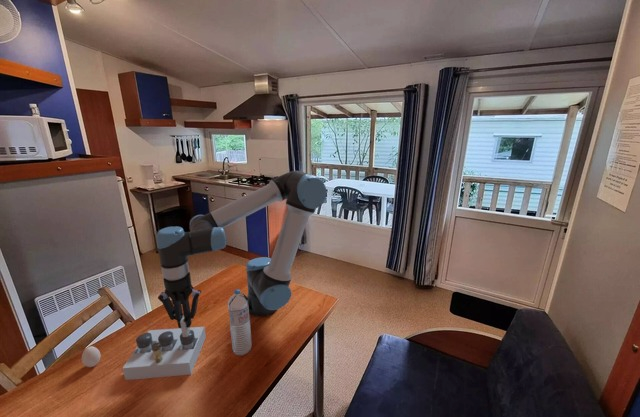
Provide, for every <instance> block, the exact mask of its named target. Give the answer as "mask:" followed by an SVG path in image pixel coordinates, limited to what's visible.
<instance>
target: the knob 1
mask: <svg viewBox="0 0 640 417" xmlns="http://www.w3.org/2000/svg"><path fill="white" fill-rule="evenodd" d="M152 341H153V340H152V335H151V333H147V332H144V333H141V334H140V335H138V336H137V337H136V339H135V343H136V348H137V347H138V348H141V352H142V353H148V352H151V350H152V348H151V343H152Z"/></svg>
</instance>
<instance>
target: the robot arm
mask: <svg viewBox="0 0 640 417" xmlns="http://www.w3.org/2000/svg"><path fill="white" fill-rule="evenodd" d="M326 199H327V188H326V185H325V183H324V181H323V180H322V179H321V178H319V177H317V176H316V175H314V174H310V173H306V172H303V171H301V170H291V171H289V172H288V171H287V172H286V173H284V174H281V175H279V176H277V177H275V178H273V179H271V180H269V183H268V184H266V185H264V186H262V187H260V188H258V189H256V190H254V191H251V192H250V193H248V194H246V195H244V196H242V197H239V198H237V199H235V200H234V201H231V202H230V203H227V204H225V205H223V206H221V207H219V208H217V209H215V210H213V211H211V212H208V213H206V214H197V215H195V216H192V218H191V219H190V220H189V231H186V232H185V231H184V228H183V227H181V226H177V225H176V226H167V227H164V228H161V229H159V230H158V231H157V232H156V234H155V238H156V247H157V252H158V257H159V261H160V267H161V274H162V277H163V283H164V289H165V290H164V291H162V292H161V293H159V295H158V296H157V299H158V300H159V301H160V302H161V303H162V305H163V307H164V309H165V311H166V313H167V315H168V317H169V319H170V320H171V321H174V320H176V322H177V328H181V330H182V336H183V337H188V335H189V333H190V328H191V327H192V319H194V317H195V315H196V314H197V310H198V309H197V308H198V302H199V297H200V295H201V293H202V290H201V289H198V290H196V289H195V288H194V286H193V285H192V278H191V272H190V266H189V256H194V255H199V254H205V253H210V252H216V251H219V250H222V249H225V248H226V246H227V237H226V232H225V229H224V228H227V227H228V226H230V225H232V224H234V223H236V222H238V221H240V220H242V219H244V218H246V217H248V216H251V215H252V214H254V213H256V212H257V211H260V210H262V209H264V208H266V207H268V206H270V205H271V204H274V203H276V202H277V201H278V202H282V201H284V200H286V202H285V205H286V208H287V211H286V214H285V216H284V220H283V223H282V226H281V227H280V228H281V229H280V231H279V234H278V237H277V239H276V244H275V246H274V249H273V253H272V255H271V257H266V256H262V257H261V256H260V257H256V258H253V259H251V260H249V261H248V262H247V263H246V269H245V271H246V280H247V292H248V293H247V295H246V296H247V298H248V302H249V303H248V307H249V316H250V315H251V316H252V317H260V318H261V317H266V316H270V315H271V314H273V313H274V312H276V311H277V310H279V309H281V308H283V307H284V306H286V305H287V304H288V303H289V302H290V300H291V297H292V290H291V287H290V284H291V281H292V279H293V276H292V274H291V269H292V268H293V267H292V266H293V264H294V261H295V258H296V254H297V252H298V249H299V247H300V244H301V240H302V238H303V234H304V231H305V229H306V226H307V223H308V221H309V217H310V216H311V215H313V214H315V212H316V209H318V208H320V207H321V206H322V205H323V204H324V203H325V200H326ZM190 296H191V297H192V301H191V307H190V300H189V299H190Z"/></svg>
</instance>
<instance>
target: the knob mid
mask: <svg viewBox="0 0 640 417" xmlns="http://www.w3.org/2000/svg"><path fill="white" fill-rule="evenodd" d="M158 341H159V342H160V343H161V347H162V348H163V351H172V350H173V345H172V342H173V341H174V337H173V333H172V332H171V331H167V332H164V333H162V334H161V335H160V336H159V337H158Z"/></svg>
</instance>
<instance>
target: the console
mask: <svg viewBox="0 0 640 417" xmlns="http://www.w3.org/2000/svg"><path fill="white" fill-rule="evenodd" d="M190 330H193V331H194V336H195V339H194V341H193V344H194V349H188V350H184V345H182V344H181V341H180V335H181V333H182V330H181V328H179V327H177V328H165V329H151V330H150V329H149V330H148V331H147V332H146V333H151V335H152V340H153V341H152V343H151V346H152V345H153V344H154V343H157V342H159V341H158V337H159V336H160V335H161V334H162V333H164V332H167V331H171V332H172V333H173V337H174V341H173V342H172V345H173V350H172V351H163V348H162V347H161V353H162V358H163V360H162V361H161V362H159V363H156V361H155V356H154V352H153V351H152V350H151V352H148V353H142V352H141V348H138V347H137V346H136V348H135V349H134V351H133V352H132V354H131V355H130V357H128V360H127V361H126V363H125V364H124V365H123V367H122V372H123V375H124V379H125V381H132V380H143V379H154V378H164V377H167V378H169V377H176V376H188V375H189V376H190V375H192V374H193V371H194V368H195V366H196V363H197V361H198V359H199V356H200V354H201V350H202V348H203V345H204V343H205V340H206V338H207V336H206V328H205V326H195V327H193V326H191V327H190Z"/></svg>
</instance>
